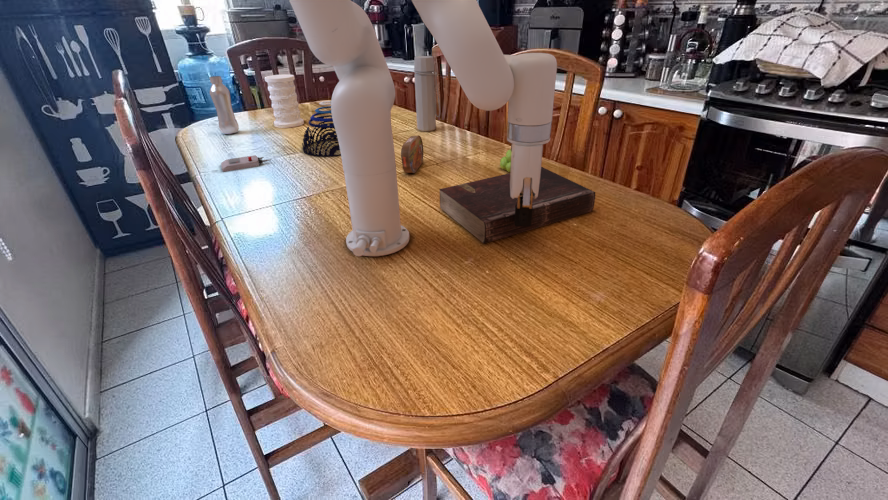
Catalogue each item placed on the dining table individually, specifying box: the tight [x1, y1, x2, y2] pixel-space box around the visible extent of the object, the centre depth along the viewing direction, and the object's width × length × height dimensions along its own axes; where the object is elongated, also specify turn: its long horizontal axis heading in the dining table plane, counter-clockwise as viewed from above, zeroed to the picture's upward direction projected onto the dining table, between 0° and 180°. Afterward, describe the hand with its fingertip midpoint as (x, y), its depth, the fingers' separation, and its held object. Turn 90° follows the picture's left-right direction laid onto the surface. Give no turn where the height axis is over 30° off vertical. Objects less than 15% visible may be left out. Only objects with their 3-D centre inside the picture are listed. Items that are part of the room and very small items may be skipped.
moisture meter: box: [220, 154, 272, 173], centre depth 125 cm, size 7×16×3 cm, turn 117°
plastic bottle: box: [208, 75, 240, 135], centre depth 153 cm, size 6×7×20 cm
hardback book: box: [439, 166, 596, 244], centre depth 94 cm, size 29×19×5 cm, turn 118°
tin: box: [400, 134, 424, 174], centre depth 118 cm, size 15×3×8 cm, turn 168°
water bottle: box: [413, 55, 441, 132], centre depth 150 cm, size 9×8×25 cm
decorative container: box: [264, 73, 305, 129], centre depth 164 cm, size 12×12×18 cm
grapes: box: [499, 143, 512, 173], centre depth 117 cm, size 9×6×7 cm, turn 174°
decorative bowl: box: [301, 100, 341, 158], centre depth 136 cm, size 20×20×14 cm
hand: (522, 224), depth 82 cm, fingers closed
